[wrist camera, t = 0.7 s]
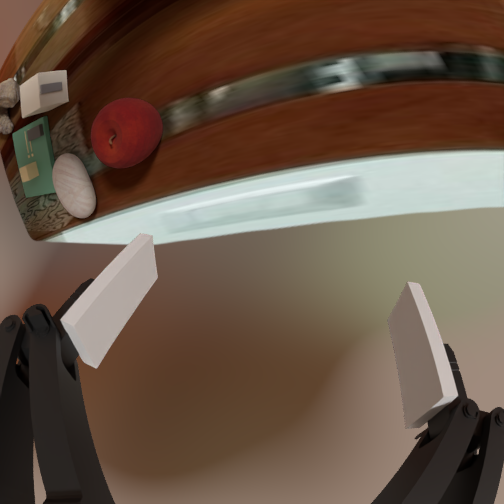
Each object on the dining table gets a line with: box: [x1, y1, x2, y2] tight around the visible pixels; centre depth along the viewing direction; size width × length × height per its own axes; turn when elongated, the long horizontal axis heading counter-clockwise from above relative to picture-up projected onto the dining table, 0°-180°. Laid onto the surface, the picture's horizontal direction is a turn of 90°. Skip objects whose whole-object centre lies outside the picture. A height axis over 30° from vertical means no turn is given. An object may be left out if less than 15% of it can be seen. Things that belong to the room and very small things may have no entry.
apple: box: [91, 98, 163, 168], centre depth 31 cm, size 10×10×10 cm
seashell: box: [0, 78, 20, 134], centre depth 32 cm, size 14×10×10 cm
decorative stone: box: [52, 153, 96, 218], centre depth 40 cm, size 13×9×5 cm
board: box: [12, 116, 56, 198], centre depth 39 cm, size 16×14×4 cm
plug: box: [20, 70, 69, 118], centre depth 30 cm, size 6×7×7 cm
